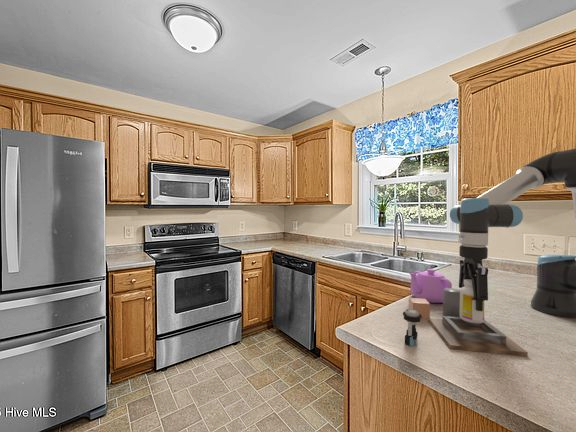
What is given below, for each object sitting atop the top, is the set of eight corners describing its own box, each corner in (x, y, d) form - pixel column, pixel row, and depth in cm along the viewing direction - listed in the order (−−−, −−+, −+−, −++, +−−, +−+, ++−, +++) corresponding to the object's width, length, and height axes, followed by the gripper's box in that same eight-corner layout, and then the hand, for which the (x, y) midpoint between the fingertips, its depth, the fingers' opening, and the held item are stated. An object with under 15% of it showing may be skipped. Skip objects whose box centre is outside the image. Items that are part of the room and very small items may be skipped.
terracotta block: (424, 313, 106) (425, 298, 106) (429, 319, 101) (429, 303, 100) (408, 312, 108) (409, 297, 108) (412, 318, 102) (412, 302, 102)
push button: (408, 335, 87) (408, 305, 87) (425, 341, 84) (425, 310, 83) (399, 342, 83) (399, 311, 82) (417, 349, 79) (417, 316, 79)
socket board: (489, 325, 95) (489, 315, 95) (527, 356, 75) (527, 343, 75) (428, 321, 99) (428, 311, 99) (450, 348, 79) (450, 336, 79)
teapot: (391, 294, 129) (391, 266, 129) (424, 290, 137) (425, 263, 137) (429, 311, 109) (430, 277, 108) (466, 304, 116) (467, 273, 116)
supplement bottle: (488, 325, 83) (489, 284, 83) (464, 323, 84) (465, 283, 84) (477, 316, 90) (478, 279, 89) (455, 315, 91) (456, 277, 90)
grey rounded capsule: (459, 313, 106) (459, 288, 106) (467, 320, 99) (467, 294, 99) (440, 312, 108) (440, 287, 107) (446, 319, 101) (447, 293, 101)
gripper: (448, 241, 97) (447, 304, 97) (475, 249, 77) (473, 327, 78) (471, 242, 95) (470, 305, 96) (504, 250, 76) (502, 329, 77)
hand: (471, 315), depth 87 cm, fingers closed on supplement bottle, 7 cm apart
